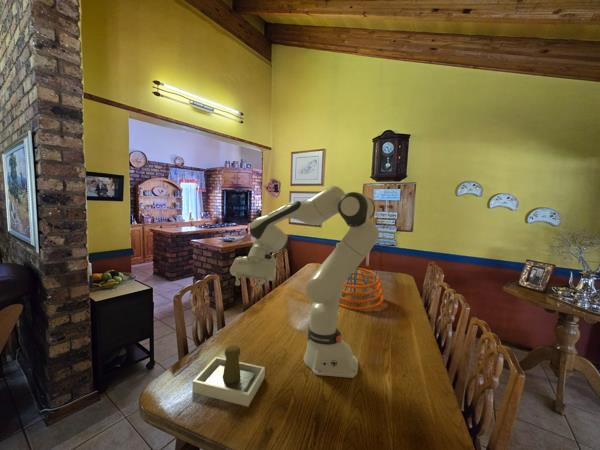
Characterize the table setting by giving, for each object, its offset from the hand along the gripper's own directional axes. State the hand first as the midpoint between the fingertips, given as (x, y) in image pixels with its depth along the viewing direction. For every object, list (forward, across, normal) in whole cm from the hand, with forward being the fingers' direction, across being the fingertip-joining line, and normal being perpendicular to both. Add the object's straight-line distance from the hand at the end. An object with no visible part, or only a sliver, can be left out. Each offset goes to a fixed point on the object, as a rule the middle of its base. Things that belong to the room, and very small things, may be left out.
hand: (247, 286), depth 108 cm
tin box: (+34, +4, +6) cm, 35 cm away
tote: (+35, +4, +6) cm, 36 cm away
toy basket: (-34, +46, +76) cm, 95 cm away
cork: (+32, +4, +4) cm, 33 cm away
